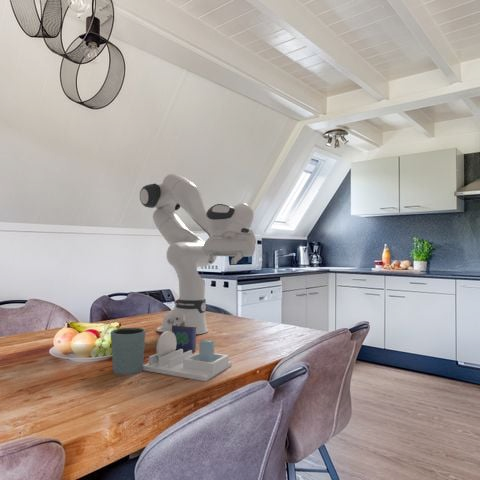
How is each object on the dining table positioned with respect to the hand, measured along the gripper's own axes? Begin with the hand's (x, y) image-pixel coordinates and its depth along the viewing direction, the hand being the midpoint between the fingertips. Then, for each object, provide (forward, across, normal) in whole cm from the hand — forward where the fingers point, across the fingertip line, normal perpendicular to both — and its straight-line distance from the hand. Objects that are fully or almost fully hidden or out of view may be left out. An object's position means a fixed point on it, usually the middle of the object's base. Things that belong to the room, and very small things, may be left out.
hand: (221, 262), depth 139 cm
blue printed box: (+26, -12, +19) cm, 34 cm away
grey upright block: (+36, +6, +7) cm, 37 cm away
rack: (+37, 0, +7) cm, 38 cm away
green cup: (+45, -15, 0) cm, 47 cm away
